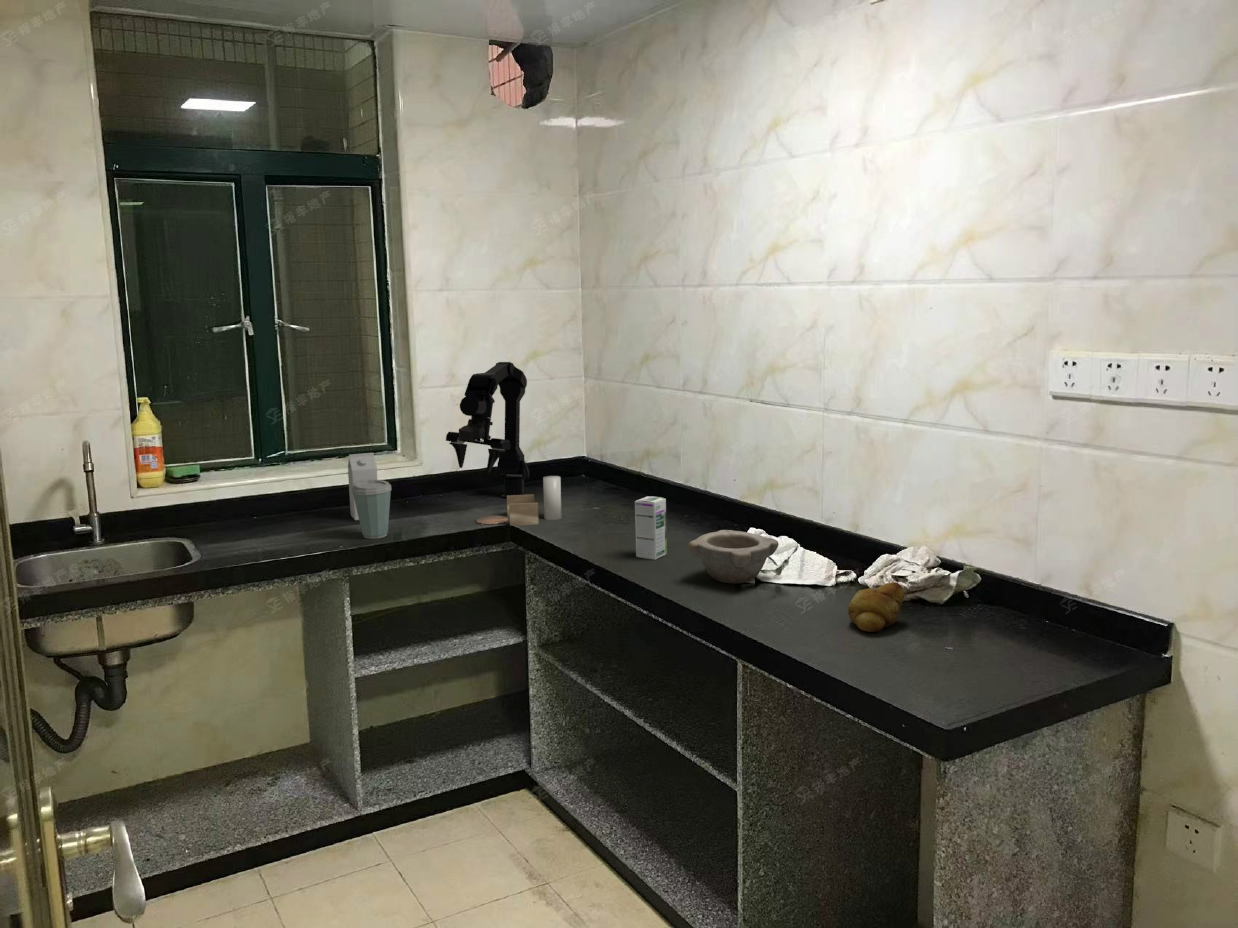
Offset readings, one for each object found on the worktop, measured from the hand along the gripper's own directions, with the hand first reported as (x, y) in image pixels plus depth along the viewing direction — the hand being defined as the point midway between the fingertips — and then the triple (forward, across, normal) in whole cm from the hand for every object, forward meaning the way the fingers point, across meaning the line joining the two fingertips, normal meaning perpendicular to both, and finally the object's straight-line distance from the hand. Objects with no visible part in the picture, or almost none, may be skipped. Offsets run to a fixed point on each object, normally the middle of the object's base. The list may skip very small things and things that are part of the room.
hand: (474, 470), depth 286 cm
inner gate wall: (+12, +14, +7) cm, 19 cm away
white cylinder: (+11, +24, +6) cm, 27 cm away
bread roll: (+13, +123, -56) cm, 136 cm away
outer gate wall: (+13, +20, -3) cm, 24 cm away
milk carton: (+18, -29, -9) cm, 36 cm away
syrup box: (+12, +65, -23) cm, 70 cm away
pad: (+14, +9, -2) cm, 17 cm away
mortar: (+12, +89, -35) cm, 97 cm away
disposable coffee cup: (+20, -12, -28) cm, 37 cm away
